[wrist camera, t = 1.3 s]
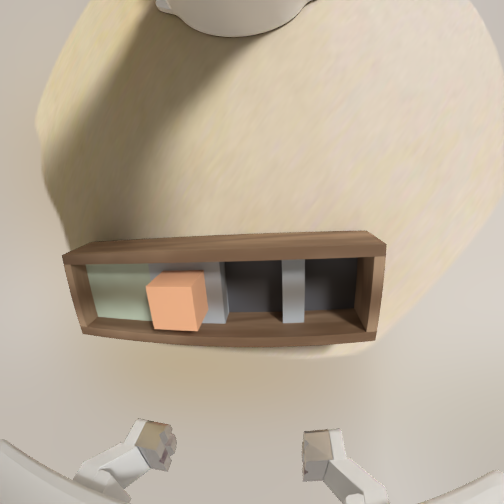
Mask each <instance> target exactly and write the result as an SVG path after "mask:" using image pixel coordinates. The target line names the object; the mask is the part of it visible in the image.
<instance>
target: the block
mask: <svg viewBox="0 0 504 504" xmlns="http://www.w3.org/2000/svg"><path fill="white" fill-rule="evenodd" d="M146 292H147V297H148V302H149V306H150V311H151V316H152V320H153V325H154V329H164V330H182V331H198V330H199V328H200V326H201V324H202V322H203V320H204V318H205V316H206V314H207V312H208V303H207V295H206V287H205V278H204V270H172V271H162V272H161V273H160V274H159V275H158V276H157V277H155V278H154V279H153V280H152V281H151V282H150V283H149V284H148V285H147V286H146Z"/></svg>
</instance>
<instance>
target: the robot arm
mask: <svg viewBox="0 0 504 504" xmlns="http://www.w3.org/2000/svg"><path fill="white" fill-rule="evenodd" d="M309 1H311V0H156V6H157V8H158V9H159V10H160V11H162V12H166V13H170V14H175V15H177V16H178V17H180V18H181V19H182V20H183V21H184V22H185V23H186V24H187V25H189V26H190V27H192V28H194V29H195V30H198V31H200V32H203V33H206V34H210V35H215V36H223V37H240V36H249V35H255V34H259V33H263V32H267V31H270V30H272V29H275V28H277V27H279V26H281V25H283V24H285V23H287V22H288V21H290V20H291V19H292V18H294V17H295V16H296V15H297V14H298V13H299V12H300V10H301V9H302V8H303V7H304V6H305V5H306V4H307V3H308V2H309ZM171 431H172V428H171V425H168V424H163V423H158V422H153V421H149V420H144V419H139V418H138V419H137V420H136V421H135V423H134V425H133V426H132V428H131V430H130V432H129V434H128V435H127V437H126V439H125V441H124V443H122V442H120V443H119V444H117V445H115V446H113V447H111V448H109V449H108V450H106V451H104V452H102V453H100V454H98V455H96V456H94V457H92V458H90V459H88V460H86V461H85V462H83V464H82V465H81V467H80V469H79V470H78V472H77V474H76V475H75V477H74V479H73V480H71V479H69V478H67V477H65V476H63V475H61V474H59V473H57V472H56V471H54V470H52V469H50V468H48V467H47V466H45V465H43V464H41V463H39V462H38V461H36V460H35V459H33V458H31V457H30V456H28V455H27V454H25V453H24V452H22V451H21V450H19V449H17V448H16V447H15V446H13V445H12V444H10V443H9V442H8V441H6V440H3V439H1V440H0V504H130V500H131V497H130V495H129V494H128V493H127V492H126V491H125V490H124V489H125V488H126V487H127V486H129V485H130V484H131V483H133V482H134V481H135V480H137V479H138V478H139V477H141V476H142V475H143V474H145V473H146V472H147V471H148V470H150V468H152V469H157V470H162V471H168V469H169V467H170V464H171V461H172V460H171V458H170V456H171V455H173V454H174V453H175V450H176V444H177V442H176V437H175V435H174V434H172V433H171ZM302 462H303V468H302V473H303V481H322V480H323V482H324V483H325V484H326V485H327V486H328V487H329V489H330V490H331V491H332V492H333V493H334V494H335V495H336V496H337V498H338V499H339V500H340V501H341V502H342V503H343V504H390V503H389V499H388V495H387V490H386V487H385V486H383V485H382V484H381V483H380V482H379V481H377V480H376V479H375V478H374V477H372V476H371V475H370V474H369V473H368V472H366V471H365V470H364V469H363V468H362V467H360V466H359V465H358V464H357V463H356V462H354V461H353V460H352V459H351V458H347V457H346V451H345V446H344V441H343V436H342V430H341V429H340V428H338V429H329V430H327V429H326V430H315V431H304V434H303V443H302ZM418 504H504V472H501V471H498V470H494V471H491V472H489V473H487V474H485V475H483V476H481V477H480V478H478V479H476V480H474V481H472V482H470V483H468V484H465V485H463V486H461V487H459V488H457V489H455V490H452V491H450V492H447V493H445V494H443V495H440V496H438V497H435V498H432V499H430V500H427V501H424V502H421V503H418Z"/></svg>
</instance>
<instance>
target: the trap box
mask: <svg viewBox="0 0 504 504" xmlns="http://www.w3.org/2000/svg"><path fill="white" fill-rule="evenodd" d="M62 258H63V263H64V267H65V272H66V276H67V280H68V284H69V288H70V292H71V296H72V300H73V303H74V307H75V310H76V314H77V317H78V320H79V323H80V326H81V329H82V333H83V334H88V335H94V336H101V337H109V338H116V339H125V340H134V341H143V342H154V343H166V344H180V345H198V346H224V347H284V346H311V345H328V344H342V343H354V342H365V341H374V340H375V338H376V332H377V326H378V320H379V313H380V306H381V298H382V290H383V281H384V270H385V258H386V244H385V243H384V242H382V241H381V240H380V239H378V238H377V237H375V236H374V235H372V234H371V233H369V232H368V231H330V232H294V233H264V234H238V235H214V236H192V237H172V238H153V239H136V240H119V241H103V242H91V243H88V244H86V245H84V246H81V247H79V248H77V249H75V250H73V251H70V252H68V253H66V254H64V255H62ZM172 270H204V278H205V287H206V295H207V303H208V312H207V314H206V316H205V318H204V320H203V322H202V324H201V326H200V328H199V330H198V331H182V330H164V329H154V325H153V320H152V316H151V311H150V306H149V302H148V297H147V292H146V286H147V285H148V284H149V283H150V282H151V281H152V280H153V279H154V278H155V277H157V276H158V275H159V274H160V273H161V272H162V271H172Z"/></svg>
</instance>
